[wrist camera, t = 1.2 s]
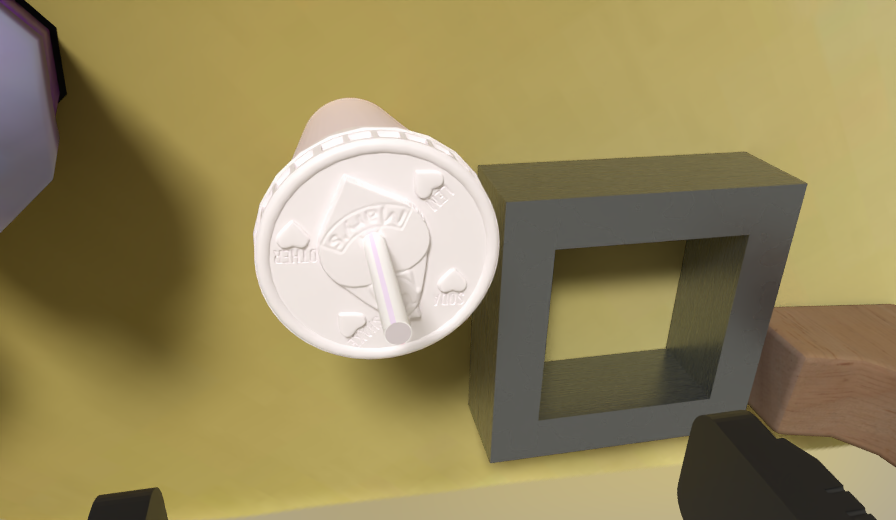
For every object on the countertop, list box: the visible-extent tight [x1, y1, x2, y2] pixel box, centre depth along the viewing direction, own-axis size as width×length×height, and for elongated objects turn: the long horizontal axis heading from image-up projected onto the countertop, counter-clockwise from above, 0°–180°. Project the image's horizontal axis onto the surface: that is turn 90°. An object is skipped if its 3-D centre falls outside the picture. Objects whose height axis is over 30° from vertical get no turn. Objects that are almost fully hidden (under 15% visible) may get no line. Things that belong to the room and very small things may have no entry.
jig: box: [468, 152, 807, 463], centre depth 29 cm, size 12×12×4 cm
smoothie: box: [253, 98, 499, 359], centre depth 20 cm, size 6×6×14 cm
